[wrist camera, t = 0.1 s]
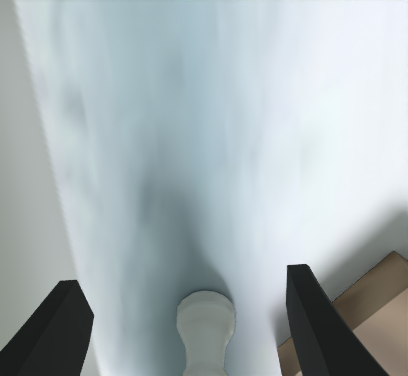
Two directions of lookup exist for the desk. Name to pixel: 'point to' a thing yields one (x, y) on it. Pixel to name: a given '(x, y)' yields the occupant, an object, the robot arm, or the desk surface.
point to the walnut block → (371, 317)
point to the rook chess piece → (205, 332)
